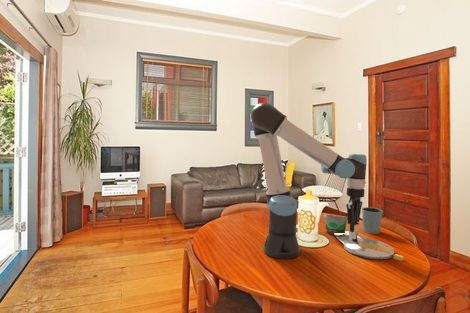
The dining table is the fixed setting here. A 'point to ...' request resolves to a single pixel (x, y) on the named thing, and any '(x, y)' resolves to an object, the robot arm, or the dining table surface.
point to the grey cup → (371, 220)
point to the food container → (335, 224)
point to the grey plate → (368, 248)
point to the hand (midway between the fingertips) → (352, 238)
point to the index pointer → (398, 257)
